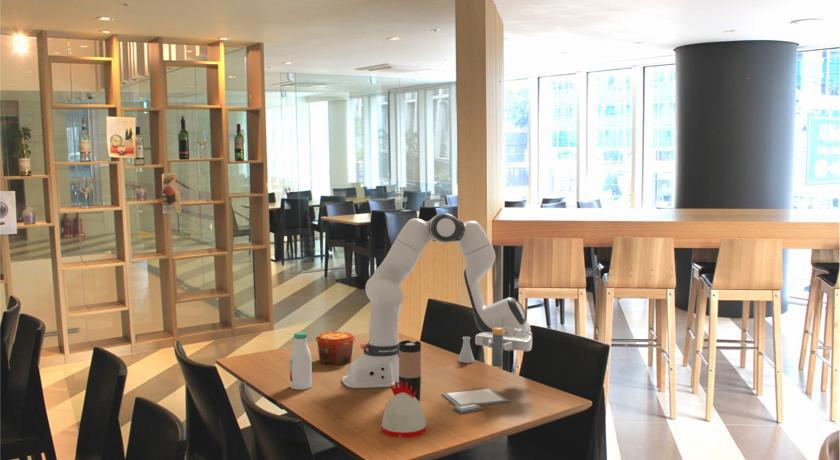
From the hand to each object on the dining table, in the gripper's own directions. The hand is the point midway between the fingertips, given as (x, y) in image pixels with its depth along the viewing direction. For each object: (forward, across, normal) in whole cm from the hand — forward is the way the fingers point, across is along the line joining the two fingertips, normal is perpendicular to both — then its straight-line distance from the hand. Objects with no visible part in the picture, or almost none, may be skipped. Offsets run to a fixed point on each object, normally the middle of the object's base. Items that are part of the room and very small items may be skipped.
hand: (496, 346), depth 266 cm
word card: (+16, -4, +19) cm, 25 cm away
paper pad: (+4, -6, +18) cm, 20 cm away
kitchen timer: (+42, -15, +19) cm, 49 cm away
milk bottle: (+20, -68, +20) cm, 73 cm away
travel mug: (+15, -26, +19) cm, 35 cm away
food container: (-17, -75, +19) cm, 79 cm away
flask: (-40, -27, +18) cm, 52 cm away
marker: (-1, 0, +7) cm, 7 cm away
